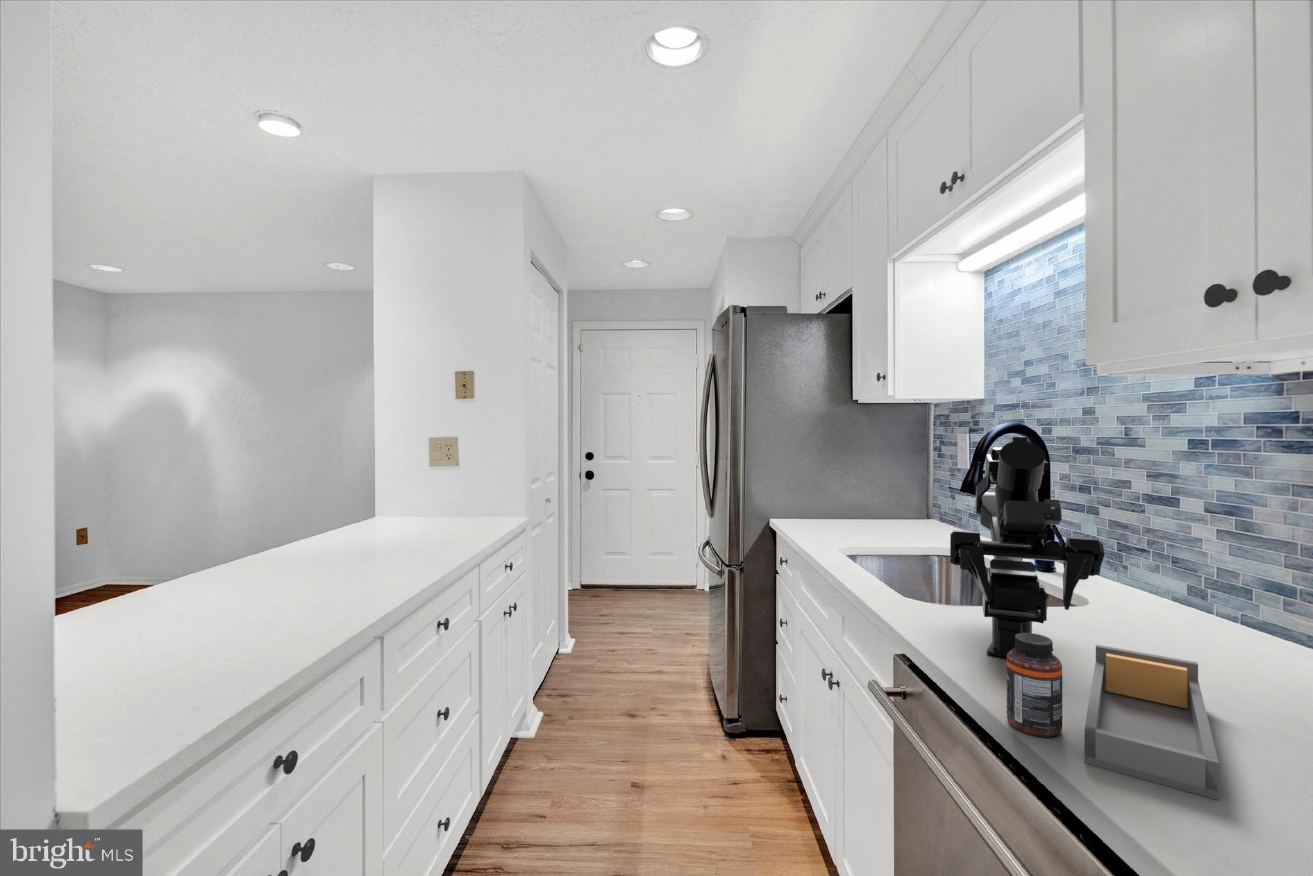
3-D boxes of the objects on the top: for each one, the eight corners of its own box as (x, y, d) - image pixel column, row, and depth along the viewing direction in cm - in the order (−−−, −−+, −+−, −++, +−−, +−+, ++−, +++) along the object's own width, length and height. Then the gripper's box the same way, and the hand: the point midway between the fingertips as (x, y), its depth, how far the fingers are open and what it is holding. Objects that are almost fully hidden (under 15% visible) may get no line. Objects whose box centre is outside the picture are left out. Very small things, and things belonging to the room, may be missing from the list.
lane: (1095, 684, 87) (1096, 644, 87) (1197, 705, 80) (1197, 662, 80) (1084, 762, 67) (1084, 711, 67) (1218, 800, 60) (1219, 743, 60)
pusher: (1106, 681, 85) (1106, 647, 85) (1185, 697, 80) (1185, 661, 80) (1105, 691, 82) (1105, 655, 82) (1187, 708, 77) (1187, 670, 77)
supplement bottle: (1010, 711, 79) (1010, 626, 79) (1064, 725, 75) (1065, 636, 75) (1002, 728, 75) (1002, 639, 74) (1059, 744, 71) (1059, 649, 71)
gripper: (950, 477, 90) (951, 565, 80) (1101, 480, 82) (1123, 579, 72) (949, 521, 97) (950, 607, 88) (1088, 528, 89) (1106, 624, 80)
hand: (1027, 604), depth 82 cm, fingers open, 9 cm apart
